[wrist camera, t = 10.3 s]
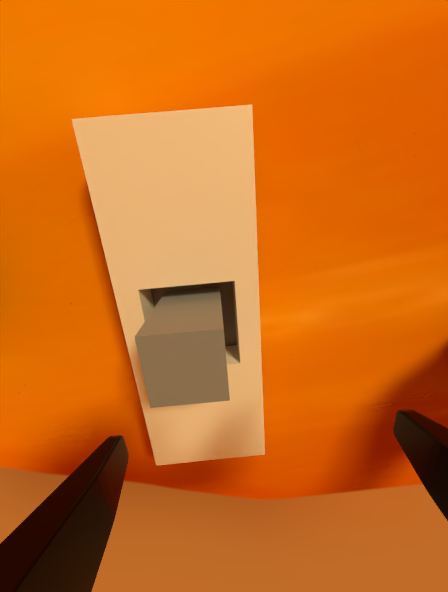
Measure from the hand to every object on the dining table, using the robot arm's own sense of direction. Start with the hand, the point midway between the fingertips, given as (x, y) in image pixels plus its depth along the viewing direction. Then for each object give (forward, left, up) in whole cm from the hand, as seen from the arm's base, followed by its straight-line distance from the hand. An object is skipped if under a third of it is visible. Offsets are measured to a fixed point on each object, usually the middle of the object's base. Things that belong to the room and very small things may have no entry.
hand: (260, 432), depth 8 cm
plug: (+3, 0, -11) cm, 11 cm away
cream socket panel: (+3, 0, -12) cm, 12 cm away
